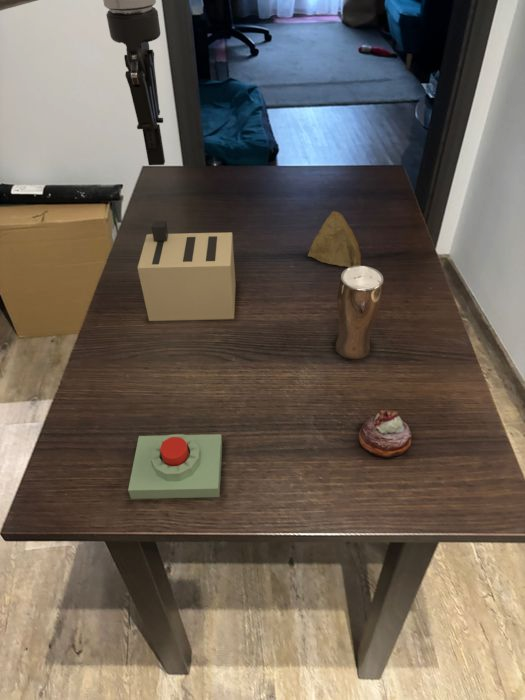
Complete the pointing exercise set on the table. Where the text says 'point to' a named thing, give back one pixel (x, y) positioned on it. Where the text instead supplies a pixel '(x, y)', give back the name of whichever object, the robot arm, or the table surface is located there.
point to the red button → (174, 451)
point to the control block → (177, 469)
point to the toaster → (188, 277)
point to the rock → (336, 243)
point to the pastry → (385, 435)
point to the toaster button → (159, 231)
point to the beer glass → (357, 310)
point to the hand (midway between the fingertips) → (156, 163)
